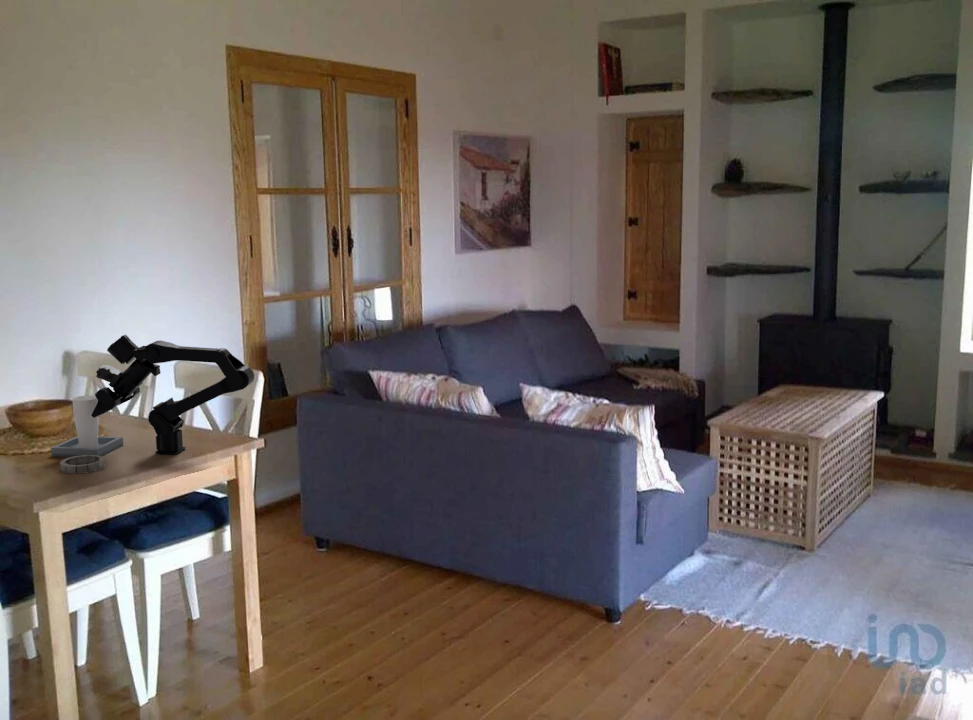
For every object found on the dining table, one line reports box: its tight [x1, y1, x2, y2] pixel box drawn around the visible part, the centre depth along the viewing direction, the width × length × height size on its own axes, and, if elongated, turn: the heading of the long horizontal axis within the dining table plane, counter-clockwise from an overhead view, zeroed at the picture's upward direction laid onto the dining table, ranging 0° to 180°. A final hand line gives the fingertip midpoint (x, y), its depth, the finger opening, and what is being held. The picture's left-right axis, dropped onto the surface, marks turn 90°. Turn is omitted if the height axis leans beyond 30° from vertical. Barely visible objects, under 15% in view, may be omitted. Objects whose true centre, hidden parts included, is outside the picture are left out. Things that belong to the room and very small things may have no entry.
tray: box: [50, 435, 124, 458], centre depth 275 cm, size 14×14×2 cm
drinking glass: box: [72, 394, 100, 448], centre depth 274 cm, size 7×7×15 cm
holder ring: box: [59, 455, 105, 475], centre depth 259 cm, size 11×11×2 cm
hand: (99, 412), depth 273 cm, fingers open, 9 cm apart
